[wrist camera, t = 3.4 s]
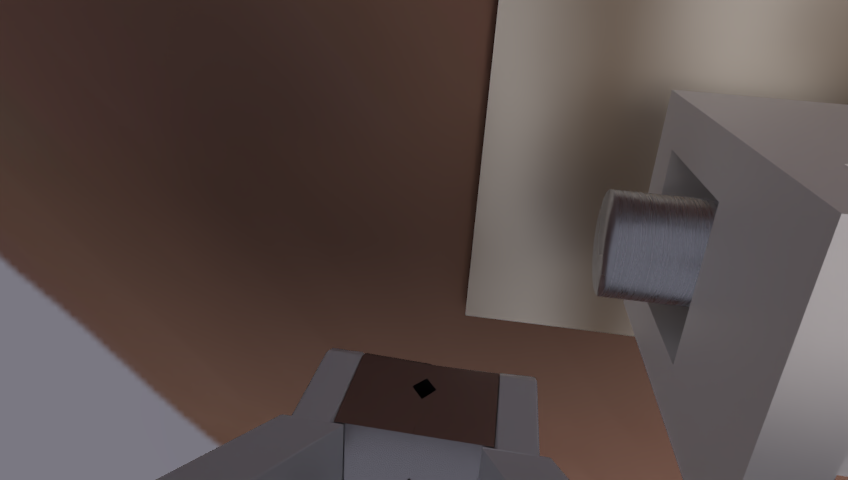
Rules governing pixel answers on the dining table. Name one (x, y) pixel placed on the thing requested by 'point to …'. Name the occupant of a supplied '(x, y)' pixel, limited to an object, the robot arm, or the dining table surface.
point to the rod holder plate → (613, 126)
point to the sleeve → (756, 290)
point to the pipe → (650, 246)
